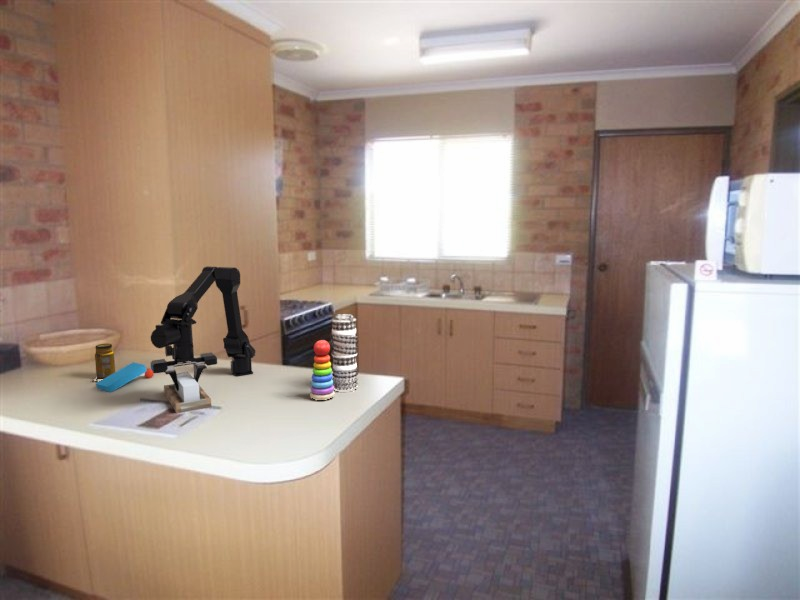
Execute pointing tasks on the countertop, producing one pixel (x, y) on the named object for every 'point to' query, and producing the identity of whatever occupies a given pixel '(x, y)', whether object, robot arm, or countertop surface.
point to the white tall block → (187, 387)
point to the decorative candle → (344, 352)
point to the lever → (124, 376)
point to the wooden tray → (186, 406)
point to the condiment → (104, 361)
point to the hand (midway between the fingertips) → (186, 388)
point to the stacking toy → (322, 373)
